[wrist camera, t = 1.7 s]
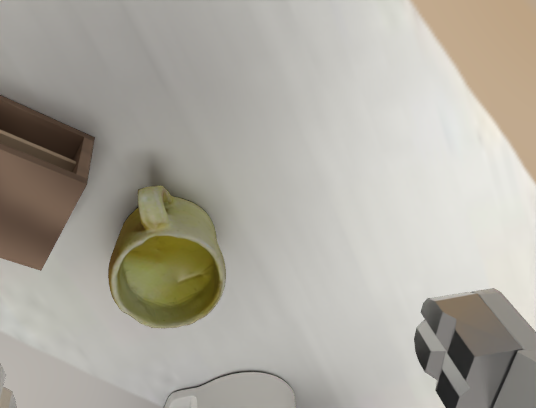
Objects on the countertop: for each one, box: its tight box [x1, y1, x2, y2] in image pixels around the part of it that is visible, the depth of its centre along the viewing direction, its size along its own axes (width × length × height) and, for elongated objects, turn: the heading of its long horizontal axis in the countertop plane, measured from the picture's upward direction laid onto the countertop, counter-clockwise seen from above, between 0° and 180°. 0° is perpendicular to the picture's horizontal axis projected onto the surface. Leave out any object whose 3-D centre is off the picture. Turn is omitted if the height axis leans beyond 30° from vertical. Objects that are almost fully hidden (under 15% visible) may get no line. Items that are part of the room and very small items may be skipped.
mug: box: [108, 185, 226, 328], centre depth 44 cm, size 12×10×10 cm
